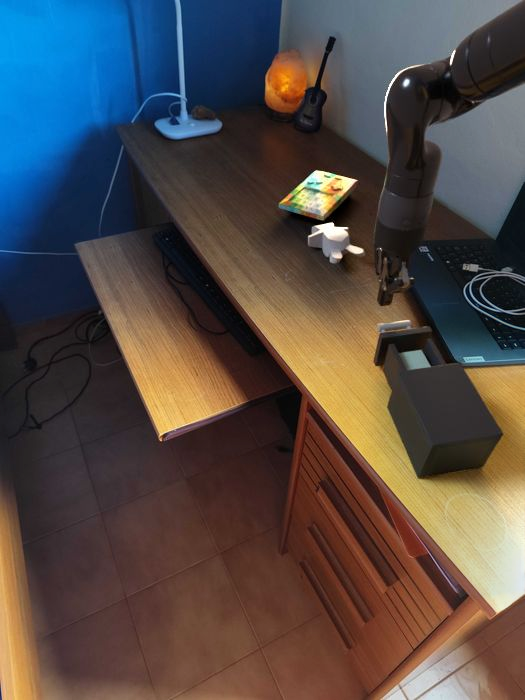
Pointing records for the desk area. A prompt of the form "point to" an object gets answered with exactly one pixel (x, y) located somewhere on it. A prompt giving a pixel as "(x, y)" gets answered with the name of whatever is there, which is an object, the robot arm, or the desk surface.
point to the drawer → (403, 347)
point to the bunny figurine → (333, 241)
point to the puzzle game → (319, 195)
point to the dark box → (442, 420)
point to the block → (414, 360)
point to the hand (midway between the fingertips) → (383, 302)
